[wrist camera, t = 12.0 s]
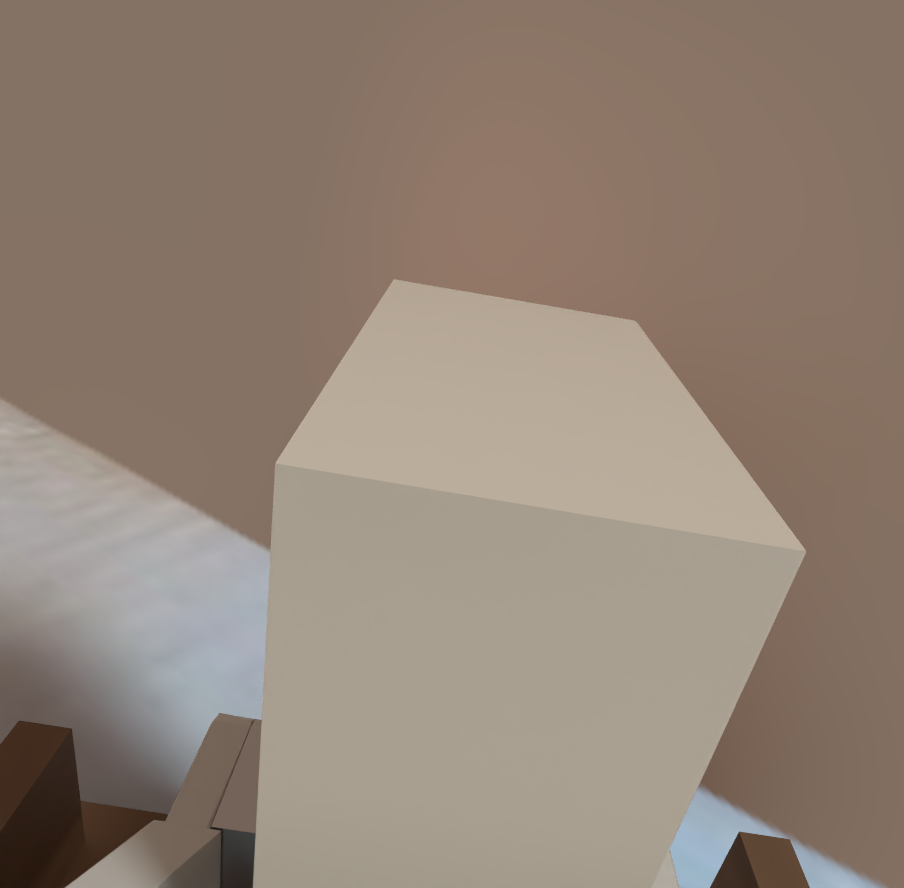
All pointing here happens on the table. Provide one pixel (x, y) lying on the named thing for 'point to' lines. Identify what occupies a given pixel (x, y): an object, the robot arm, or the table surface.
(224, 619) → the table surface
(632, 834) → the clay strip
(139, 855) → the robot arm
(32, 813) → the drying rack
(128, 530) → the table surface
